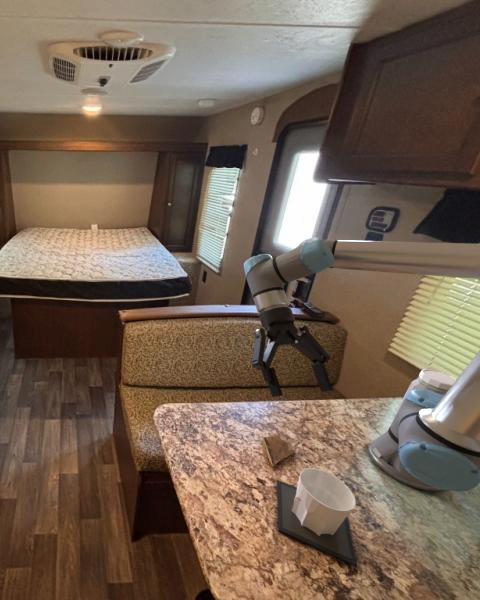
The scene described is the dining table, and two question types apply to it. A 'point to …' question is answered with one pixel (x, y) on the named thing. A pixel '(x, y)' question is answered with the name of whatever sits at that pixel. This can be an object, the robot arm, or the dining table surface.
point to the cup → (322, 501)
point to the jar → (431, 382)
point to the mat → (291, 526)
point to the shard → (277, 448)
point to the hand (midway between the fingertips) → (302, 393)
